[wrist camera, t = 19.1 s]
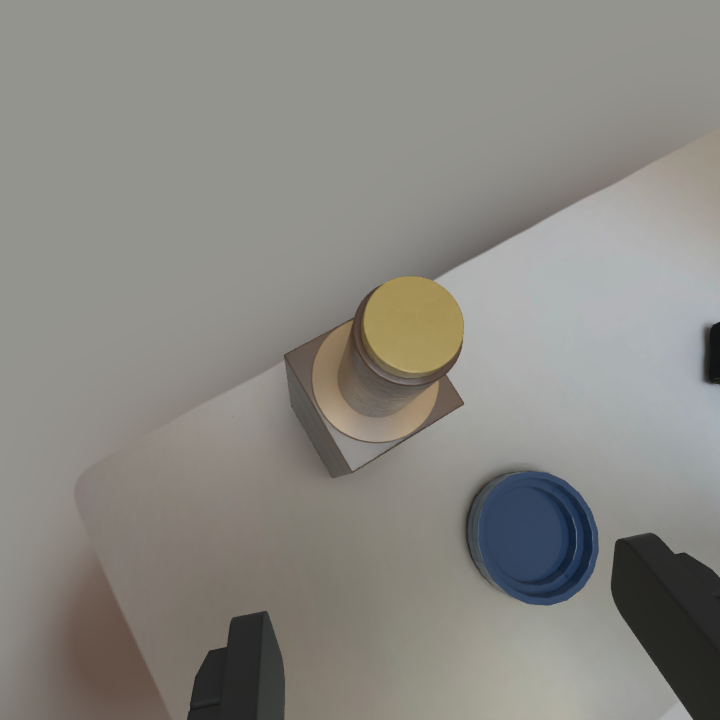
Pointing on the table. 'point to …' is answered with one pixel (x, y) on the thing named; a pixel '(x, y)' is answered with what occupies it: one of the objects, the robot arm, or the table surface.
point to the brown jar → (399, 345)
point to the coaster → (346, 416)
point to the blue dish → (533, 537)
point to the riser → (328, 441)
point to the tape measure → (715, 354)
